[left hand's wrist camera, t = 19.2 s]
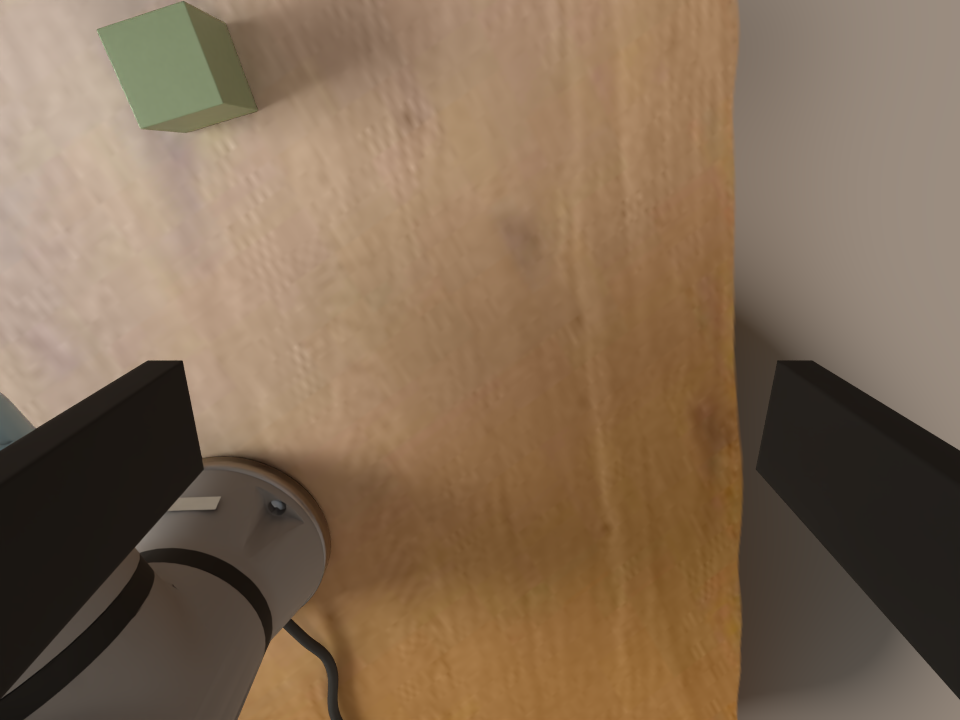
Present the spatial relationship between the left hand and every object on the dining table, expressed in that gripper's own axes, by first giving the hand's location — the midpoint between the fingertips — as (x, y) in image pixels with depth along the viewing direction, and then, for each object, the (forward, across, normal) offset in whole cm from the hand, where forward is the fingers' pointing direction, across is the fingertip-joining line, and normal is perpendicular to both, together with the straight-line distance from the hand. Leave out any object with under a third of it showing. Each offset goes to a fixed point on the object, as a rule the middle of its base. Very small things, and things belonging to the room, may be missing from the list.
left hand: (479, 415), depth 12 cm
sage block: (+27, +17, -10) cm, 33 cm away
